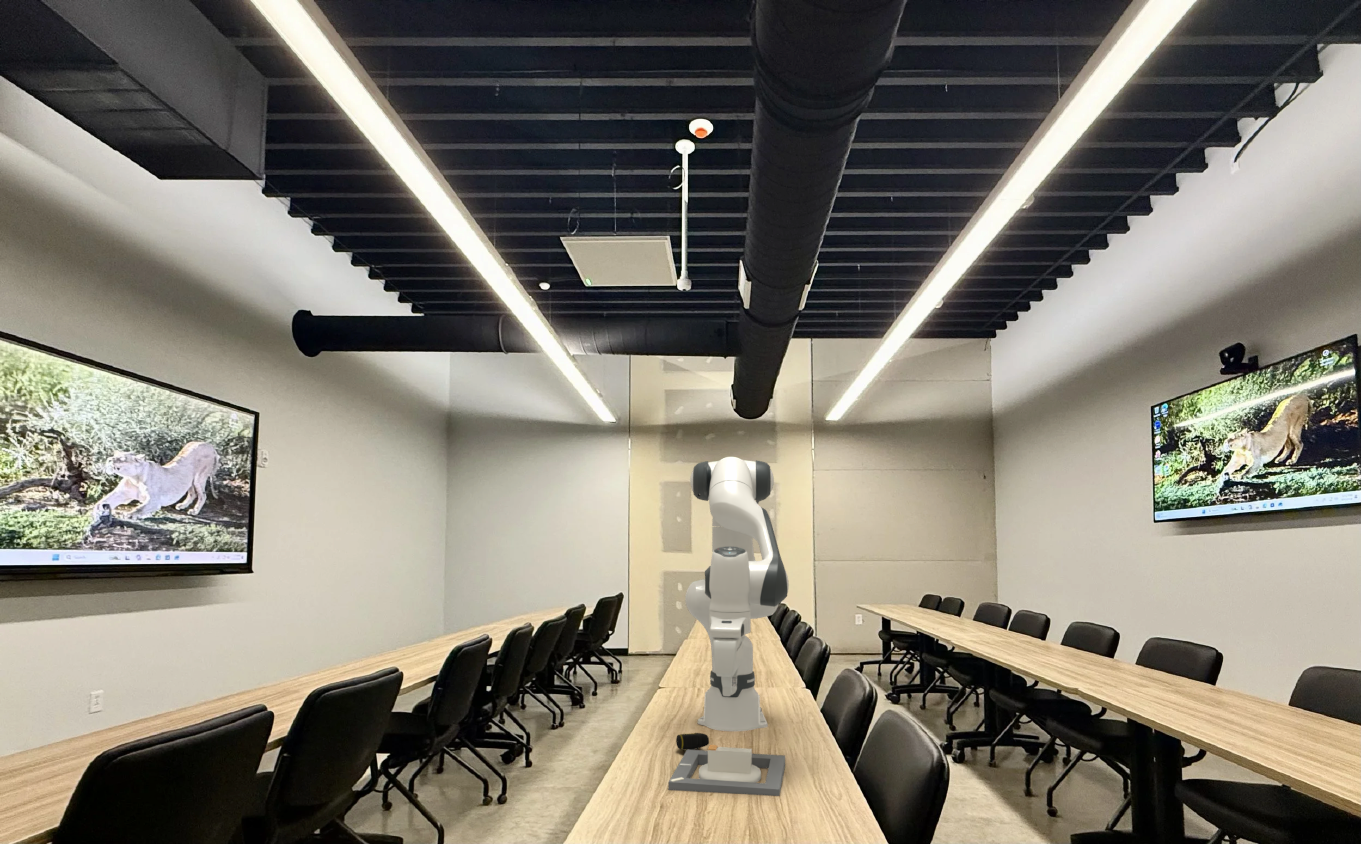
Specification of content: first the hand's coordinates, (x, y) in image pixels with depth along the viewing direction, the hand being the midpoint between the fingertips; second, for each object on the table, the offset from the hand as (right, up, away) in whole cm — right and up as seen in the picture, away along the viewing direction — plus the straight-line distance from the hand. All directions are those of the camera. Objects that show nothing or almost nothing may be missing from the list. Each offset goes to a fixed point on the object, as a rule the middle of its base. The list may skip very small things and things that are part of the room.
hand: (730, 690), depth 174 cm
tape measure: (-5, -20, +18) cm, 27 cm away
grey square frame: (0, -18, -2) cm, 18 cm away
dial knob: (0, -18, -2) cm, 18 cm away
